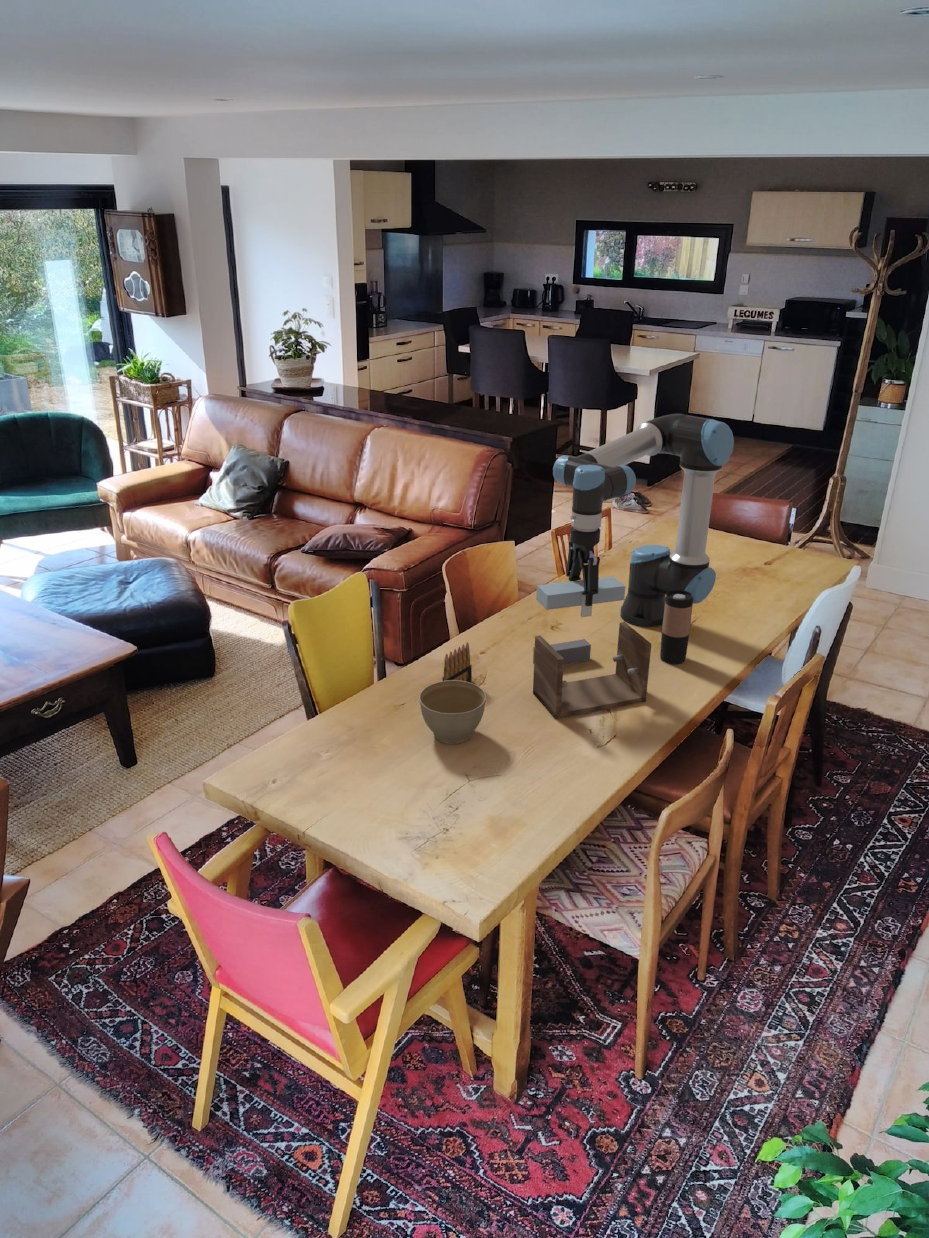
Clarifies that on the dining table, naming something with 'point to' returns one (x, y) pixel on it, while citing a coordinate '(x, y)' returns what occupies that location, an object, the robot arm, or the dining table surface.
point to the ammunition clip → (458, 665)
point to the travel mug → (676, 626)
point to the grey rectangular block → (572, 651)
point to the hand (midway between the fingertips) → (579, 610)
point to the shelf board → (578, 593)
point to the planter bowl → (452, 709)
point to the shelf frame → (593, 691)
